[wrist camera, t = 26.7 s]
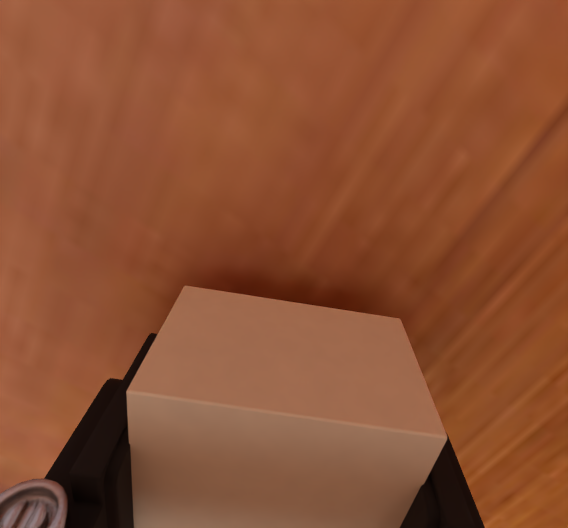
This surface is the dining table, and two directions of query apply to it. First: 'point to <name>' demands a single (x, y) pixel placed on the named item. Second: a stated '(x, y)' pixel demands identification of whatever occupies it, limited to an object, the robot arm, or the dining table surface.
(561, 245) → the dining table surface
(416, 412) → the cream block
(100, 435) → the robot arm
